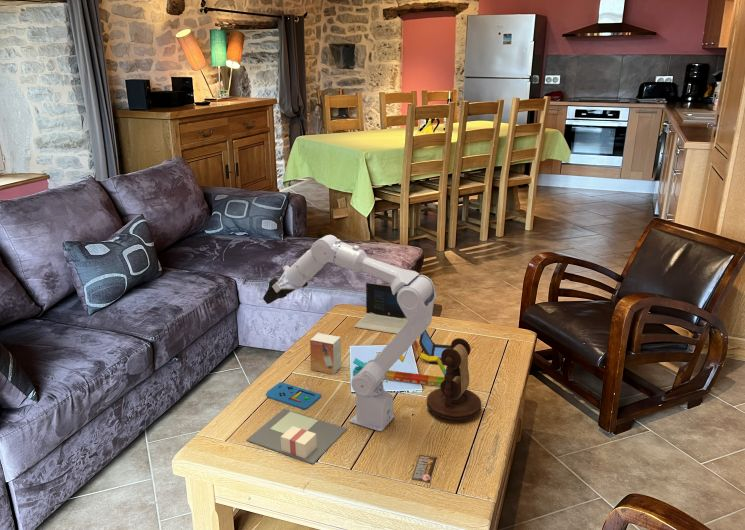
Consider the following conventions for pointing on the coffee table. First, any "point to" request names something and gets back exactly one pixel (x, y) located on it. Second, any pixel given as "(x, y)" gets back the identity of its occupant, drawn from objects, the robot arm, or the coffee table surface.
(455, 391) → the brown upright jointed piece
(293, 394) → the handheld gaming device
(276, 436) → the mat
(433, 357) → the chart
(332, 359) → the small box
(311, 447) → the card deck
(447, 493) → the coffee table surface
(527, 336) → the coffee table surface
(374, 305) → the laptop
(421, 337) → the handheld game console
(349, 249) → the robot arm
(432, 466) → the chocolate bar
